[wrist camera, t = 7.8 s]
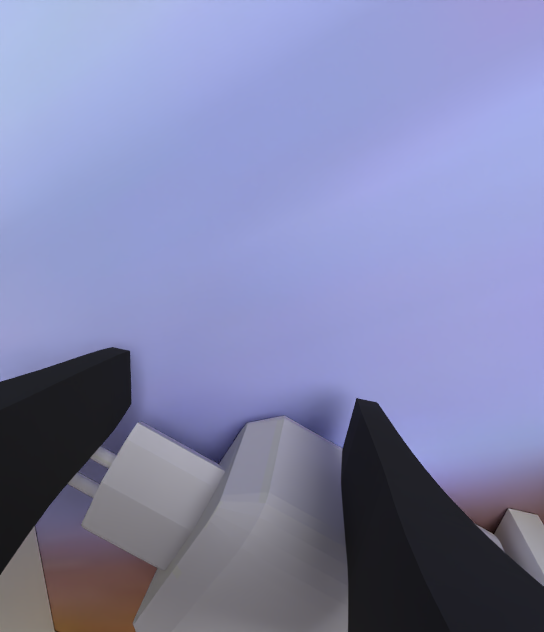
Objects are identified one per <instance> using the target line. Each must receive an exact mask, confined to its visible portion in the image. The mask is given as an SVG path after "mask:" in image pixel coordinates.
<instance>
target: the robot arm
mask: <svg viewBox="0 0 544 632" xmlns="http://www.w3.org/2000/svg"><path fill="white" fill-rule="evenodd" d="M130 405H131V372H130V351H128V350H123V349H118V348H114V347H111V348H107V349H103V350H99V351H96V352H93V353H90V354H86V355H83V356H80V357H77V358H74V359H71V360H68V361H65V362H62V363H59V364H56V365H53V366H50V367H47V368H44V369H41V370H38V371H35V372H31V373H28V374H25V375H21V376H18V377H15V378H12V379H8V380H5V381H2V382H0V575H1V573H2V572H3V570H4V569H5V568H6V566H7V565H8V563H9V562H10V560H11V559H12V557H13V556H14V554H15V553H16V552H17V550H18V549H19V547H20V546H21V544H22V543H23V541H24V540H25V538H26V537H27V536H28V534H29V533H30V532H31V530H32V529H33V527H34V526H35V525H36V523H37V522H38V521H39V519H40V518H41V516H42V515H43V514H44V512H45V511H46V509H47V508H48V507H49V505H50V504H51V503H52V502H53V500H54V499H55V498H56V497H57V496H58V494H59V493H60V492H61V491H62V489H63V488H64V487H65V486H66V485H67V484H68V483H69V481H70V480H71V479H72V478H73V477H74V476H75V475H76V473H77V472H78V471H79V470H80V469H81V468H82V467H83V465H84V464H85V463H86V462H87V461H88V460H89V459H90V457H91V456H92V455H93V454H94V453H95V452H96V451H97V449H98V448H99V447H100V446H101V445H102V444H103V443H104V441H105V440H106V439H107V438H108V437H109V435H110V434H111V433H112V432H113V431H114V429H115V428H116V426H117V425H118V424H119V422H120V421H121V419H122V418H123V416H124V415H125V413H126V411H127V410H128V408H129V407H130ZM341 493H342V506H343V518H344V530H345V542H346V554H347V568H348V632H544V586H543V585H542V584H540V583H539V582H538V581H537V580H536V579H534V578H533V577H532V576H531V575H530V574H529V573H528V572H526V571H525V570H524V569H523V568H522V567H521V566H519V565H518V564H517V563H516V562H515V561H514V560H513V559H512V558H511V557H509V556H508V555H507V554H506V553H505V552H504V551H503V550H502V549H501V548H500V547H499V546H498V545H497V544H495V543H494V542H493V541H492V540H491V539H490V538H489V537H488V536H487V535H486V534H485V533H484V532H483V531H482V530H481V529H480V528H479V527H478V526H477V525H476V524H474V523H473V522H472V521H471V519H470V518H469V517H468V516H467V515H466V514H465V513H464V512H463V511H462V510H461V509H460V508H459V507H458V506H457V505H456V504H455V503H454V502H453V501H452V500H451V498H450V497H449V496H448V495H447V494H446V493H445V492H444V491H443V490H442V488H441V487H440V486H439V485H438V484H437V483H436V481H435V480H434V479H433V478H432V477H431V475H430V474H429V473H428V472H427V471H426V469H425V468H424V467H423V466H422V464H421V463H420V462H419V461H418V459H417V458H416V457H415V455H414V454H413V453H412V451H411V450H410V449H409V447H408V446H407V445H406V443H405V442H404V441H403V439H402V438H401V436H400V435H399V434H398V432H397V431H396V429H395V428H394V426H393V425H392V423H391V422H390V420H389V419H388V418H387V416H386V415H385V413H384V412H383V410H382V409H381V407H380V406H379V404H378V403H377V402H372V401H367V400H362V399H358V398H357V399H356V402H355V406H354V410H353V413H352V417H351V420H350V424H349V428H348V431H347V435H346V439H345V442H344V446H343V450H342V463H341Z"/></svg>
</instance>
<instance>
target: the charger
mask: <svg viewBox="0 0 544 632" xmlns="http://www.w3.org/2000/svg"><path fill="white" fill-rule="evenodd" d="M342 450H343V449H342V448H341V447H339V446H337V445H335V444H334V443H332V442H330V441H328V440H327V439H325V438H323V437H321V436H319V435H318V434H316V433H314V432H312V431H311V430H309V429H307V428H305V427H304V426H302V425H300V424H298V423H297V422H295V421H293V420H291V419H289V418H288V417H286V416H279V417H274V418H269V419H264V420H259V421H254V422H249V423H247V424H246V425H245V426H244V427H243V429H242V430H241V432H240V433H239V434H238V436H237V437H236V439H235V440H234V442H233V443H232V445H231V446H230V448H229V449H228V451H227V452H226V454H225V455H224V457H223V458H222V460H221V461H220V463H219V464H217V463H215V462H214V461H212V460H210V459H208V458H206V457H205V456H203V455H201V454H199V453H197V452H196V451H194V450H192V449H190V448H188V447H187V446H185V445H183V444H181V443H179V442H178V441H176V440H174V439H172V438H170V437H169V436H167V435H165V434H163V433H161V432H160V431H158V430H156V429H154V428H152V427H151V426H149V425H147V424H145V423H143V422H142V421H141V422H138V423H137V424H136V425H135V427H134V428H133V430H132V431H131V433H130V434H129V436H128V437H127V439H126V441H125V442H124V444H123V446H122V447H121V449H120V451H119V453H118V454H117V455H116V454H114V453H112V452H110V451H108V450H106V449H105V448H103V447H101V446H100V447H99V448H98V449H97V451H96V452H95V453H94V454H93V455H92V456H91V457H90V459H92V460H94V461H96V462H97V463H99V464H101V465H103V466H105V467H106V468H108V471H107V473H106V475H105V476H104V478H103V480H102V481H101V483H100V484H99V483H97V482H95V481H93V480H91V479H89V478H88V477H86V476H84V475H82V474H80V473H78V472H77V473H76V475H75V476H74V477H73V478H72V479H71V480H70V481H69V483H68V485H70V486H72V487H74V488H76V489H78V490H80V491H81V492H83V493H85V494H87V495H89V496H91V497H92V498H93V500H92V503H91V505H90V507H89V509H88V511H87V513H86V515H85V517H84V520H83V522H82V524H81V526H82V527H83V528H84V529H86V530H88V531H89V532H91V533H93V534H95V535H97V536H99V537H101V538H102V539H104V540H106V541H108V542H110V543H112V544H114V545H115V546H117V547H119V548H121V549H123V550H125V551H127V552H128V553H130V554H132V555H134V556H136V557H138V558H140V559H141V560H143V561H145V562H147V563H149V564H151V565H153V566H154V567H156V568H157V571H156V573H155V575H154V577H153V579H152V582H151V584H150V586H149V588H148V590H147V593H146V595H145V597H144V599H143V601H142V604H141V606H140V608H139V610H138V612H137V614H136V617H135V619H134V621H133V625H134V628H135V631H136V632H348V568H347V554H346V542H345V530H344V518H343V506H342V493H341V463H342ZM474 524H475V523H474ZM477 526H478V525H477ZM478 527H479V528H480V529H481V530H482V531H483V532H484V533H485V534H486V535H487V536H488V537H489V538H490V539H491V540H492V541H493V542H494V543H495V544H497V545H498V546H499V547H500V548H501V549H502V550H503V551H504V549H503V547H502V545H501V543H500V541H499V539H498V538H497V537H496V536H495V535H494V534H492V533H491V532H489V531H487V530H485V529H483V528H482V527H480V526H478ZM504 552H505V551H504Z"/></svg>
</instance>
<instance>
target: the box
mask: <svg viewBox="0 0 544 632" xmlns="http://www.w3.org/2000/svg"><path fill="white" fill-rule="evenodd" d="M494 535H495V536H496V537H497V538H498V539H499V541H500V543H501V545H502V547H503V549H504V551H505V553H506V554H507V555H508V556H509V557H511V558H512V559H513V560H514V561H515V562H516V563H517V564H518V565H519V566H521V567H522V568H523V569H524V570H525V571H526V572H528V573H529V574H530V575H531V576H532V577H533V578H534V579H536V580H537V581H538V582H539V583H540V584H542V585H543V586H544V525H543V523H542V521H541V520H540V518H539V516H538V515H535V514H531V513H527V512H522V511H518V510H513V509H509V508H508V510H507V512H506V513H505V515H504V517H503V519H502V521H501V522H500V524H499V526H498V528H497V530H496V531H495V533H494ZM0 632H55V631H54V626H53V620H52V615H51V610H50V605H49V599H48V594H47V589H46V584H45V578H44V573H43V568H42V563H41V557H40V552H39V547H38V542H37V536H36V531H35V526H34V527H33V529H32V530H31V532H30V533H29V534H28V536H27V537H26V538H25V540H24V541H23V543H22V544H21V546H20V547H19V549H18V550H17V552H16V553H15V554H14V556H13V557H12V559H11V560H10V562H9V563H8V565H7V566H6V568H5V569H4V570H3V572H2V573H1V575H0Z"/></svg>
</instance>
